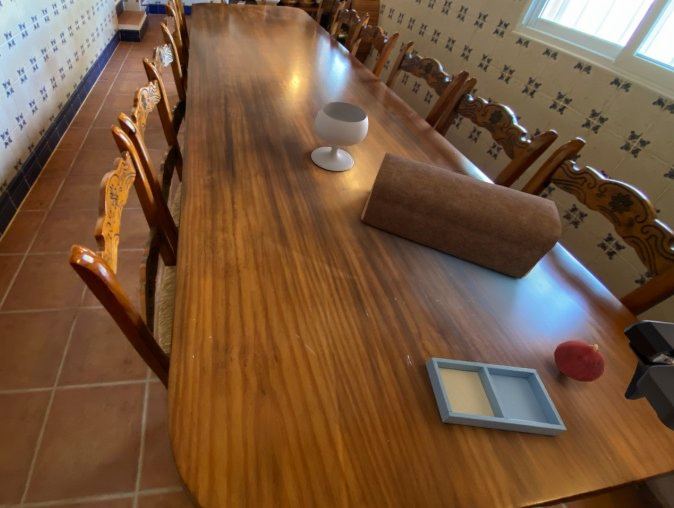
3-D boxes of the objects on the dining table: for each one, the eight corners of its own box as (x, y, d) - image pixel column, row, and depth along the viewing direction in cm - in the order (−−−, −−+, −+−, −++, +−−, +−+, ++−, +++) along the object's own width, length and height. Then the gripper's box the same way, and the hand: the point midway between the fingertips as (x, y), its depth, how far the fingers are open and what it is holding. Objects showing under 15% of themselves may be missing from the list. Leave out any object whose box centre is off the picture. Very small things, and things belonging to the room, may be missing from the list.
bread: (371, 190, 92) (388, 143, 83) (518, 239, 82) (556, 192, 73) (358, 223, 82) (376, 173, 73) (523, 283, 72) (569, 234, 63)
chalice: (336, 180, 95) (351, 130, 85) (297, 156, 102) (306, 108, 93) (366, 162, 102) (382, 114, 93) (327, 141, 110) (339, 95, 100)
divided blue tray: (556, 436, 51) (567, 430, 49) (442, 422, 51) (450, 415, 50) (526, 376, 57) (535, 369, 56) (425, 364, 58) (431, 357, 56)
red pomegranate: (593, 390, 56) (631, 367, 51) (558, 389, 56) (592, 365, 51) (568, 354, 61) (601, 330, 56) (535, 353, 61) (566, 328, 56)
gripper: (630, 282, 38) (541, 353, 48) (838, 515, 23) (649, 546, 33) (738, 294, 37) (626, 362, 47) (1015, 537, 23) (771, 561, 33)
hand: (658, 441), depth 40 cm, fingers open, 9 cm apart
